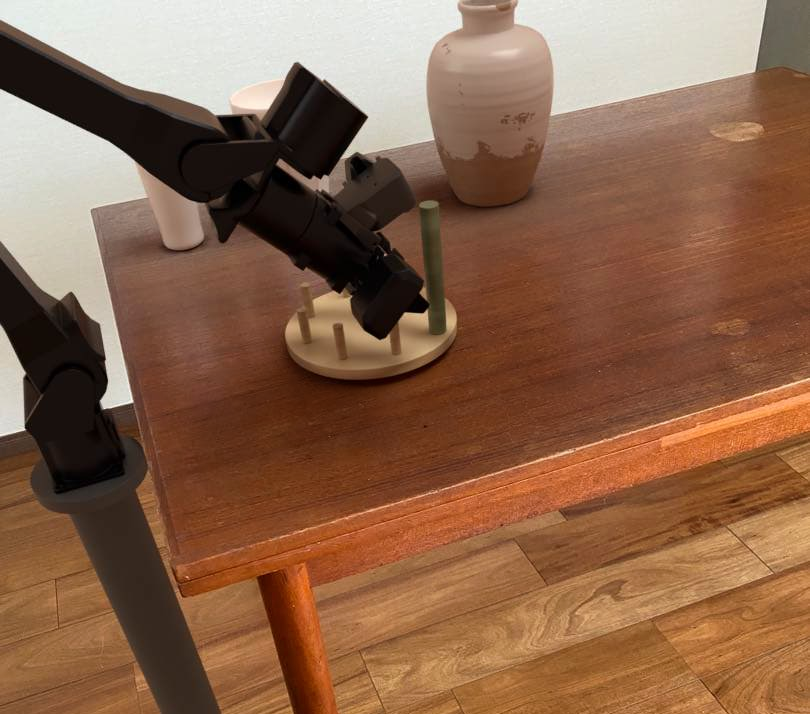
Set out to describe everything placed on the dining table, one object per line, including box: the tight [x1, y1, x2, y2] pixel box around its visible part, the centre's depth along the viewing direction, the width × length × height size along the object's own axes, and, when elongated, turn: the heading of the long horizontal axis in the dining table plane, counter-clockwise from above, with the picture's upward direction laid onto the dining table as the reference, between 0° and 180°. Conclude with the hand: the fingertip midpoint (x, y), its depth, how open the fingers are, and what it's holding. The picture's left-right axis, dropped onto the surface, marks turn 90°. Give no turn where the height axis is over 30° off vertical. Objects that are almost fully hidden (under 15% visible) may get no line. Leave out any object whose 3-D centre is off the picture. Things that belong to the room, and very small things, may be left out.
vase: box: [425, 0, 555, 207], centre depth 112 cm, size 16×16×23 cm
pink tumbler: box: [133, 160, 205, 251], centre depth 111 cm, size 7×7×15 cm
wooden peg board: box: [284, 200, 458, 381], centre depth 88 cm, size 18×18×14 cm
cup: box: [228, 77, 330, 194], centre depth 115 cm, size 12×12×15 cm
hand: (425, 307), depth 85 cm, fingers closed
